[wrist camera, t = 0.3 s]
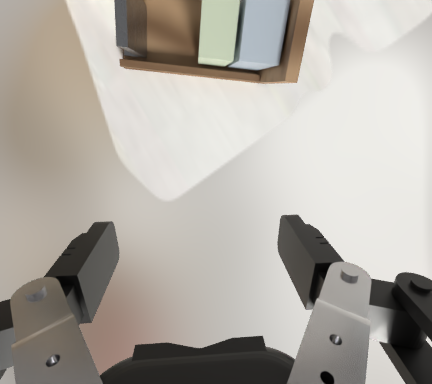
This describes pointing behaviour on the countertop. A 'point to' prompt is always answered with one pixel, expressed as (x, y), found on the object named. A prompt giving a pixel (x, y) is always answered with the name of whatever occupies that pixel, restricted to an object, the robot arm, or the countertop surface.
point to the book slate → (260, 34)
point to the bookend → (131, 27)
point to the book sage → (218, 32)
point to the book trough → (189, 44)
